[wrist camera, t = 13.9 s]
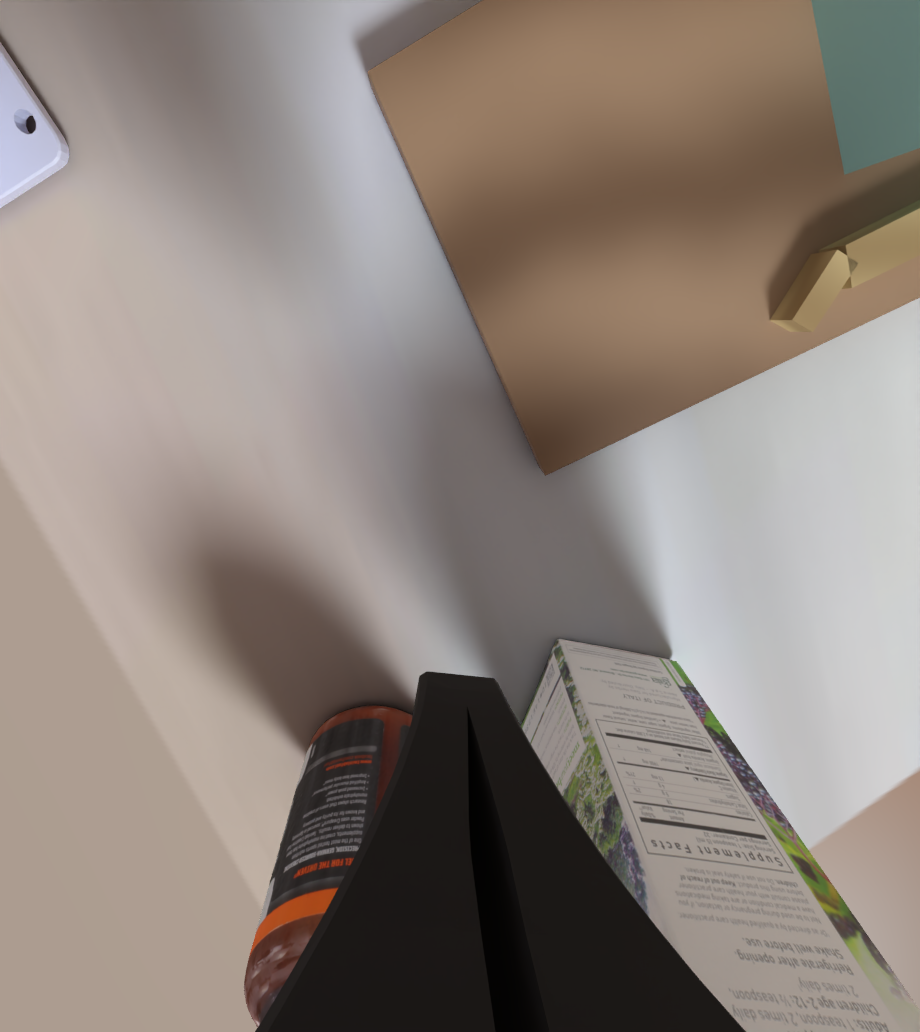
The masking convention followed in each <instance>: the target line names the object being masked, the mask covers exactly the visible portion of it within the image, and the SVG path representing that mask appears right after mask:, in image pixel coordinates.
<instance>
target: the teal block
mask: <svg viewBox="0 0 920 1032" xmlns="http://www.w3.org/2000/svg"><path fill="white" fill-rule="evenodd" d="M811 2H812V7H813V12H814V18H815V23H816V28H817V33H818V39H819V44H820V49H821V54H822V60H823V65H824V70H825V75H826V80H827V86H828V91H829V96H830V101H831V107H832V112H833V117H834V122H835V127H836V133H837V138H838V143H839V148H840V154H841V159H842V164H843V169H844V175H845V174H848V173H851V172H854V171H856V170H859V169H862V168H865V167H868V166H870V165H873V164H876V163H879V162H882V161H885V160H887V159H890V158H893V157H896V156H899V155H901V154H904V153H907V152H910V151H913V150H915V149H918V148H920V0H811Z"/></svg>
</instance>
